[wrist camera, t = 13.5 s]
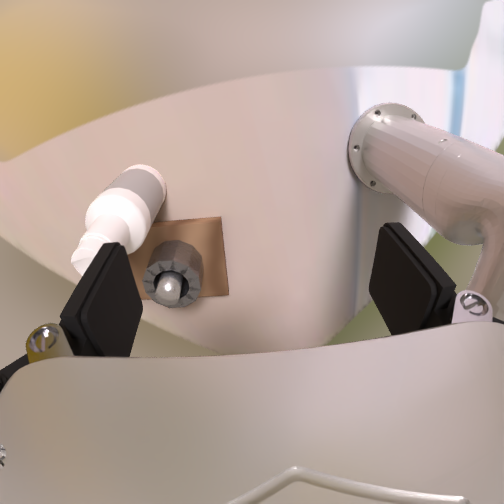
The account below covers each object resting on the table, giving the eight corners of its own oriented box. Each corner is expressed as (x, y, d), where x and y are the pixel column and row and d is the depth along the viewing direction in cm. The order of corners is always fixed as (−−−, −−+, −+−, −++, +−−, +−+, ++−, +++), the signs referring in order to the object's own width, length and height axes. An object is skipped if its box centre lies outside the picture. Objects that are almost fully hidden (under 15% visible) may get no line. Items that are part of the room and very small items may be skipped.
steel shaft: (183, 254, 42) (176, 285, 36) (187, 272, 43) (181, 305, 37) (162, 256, 41) (152, 287, 35) (167, 273, 43) (158, 306, 37)
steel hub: (199, 238, 40) (195, 258, 36) (206, 283, 44) (203, 306, 40) (146, 242, 40) (136, 262, 36) (157, 286, 44) (150, 308, 40)
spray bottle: (176, 196, 39) (143, 279, 23) (137, 221, 40) (90, 309, 25) (147, 153, 35) (89, 212, 20) (108, 181, 37) (40, 253, 21)
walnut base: (221, 216, 41) (220, 221, 39) (228, 288, 47) (228, 294, 46) (122, 225, 40) (118, 230, 39) (141, 293, 46) (139, 299, 45)
